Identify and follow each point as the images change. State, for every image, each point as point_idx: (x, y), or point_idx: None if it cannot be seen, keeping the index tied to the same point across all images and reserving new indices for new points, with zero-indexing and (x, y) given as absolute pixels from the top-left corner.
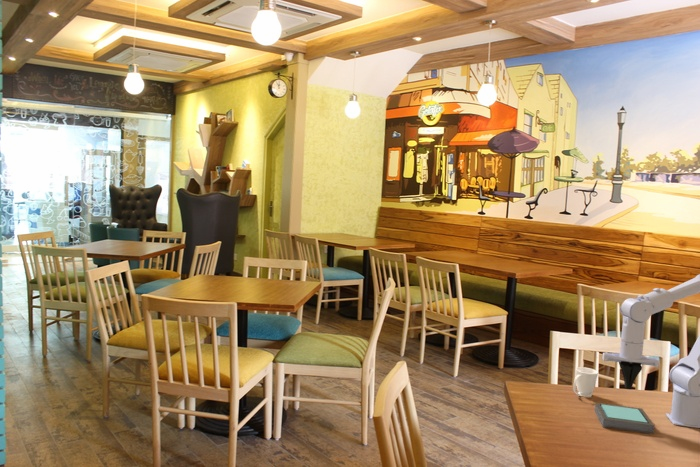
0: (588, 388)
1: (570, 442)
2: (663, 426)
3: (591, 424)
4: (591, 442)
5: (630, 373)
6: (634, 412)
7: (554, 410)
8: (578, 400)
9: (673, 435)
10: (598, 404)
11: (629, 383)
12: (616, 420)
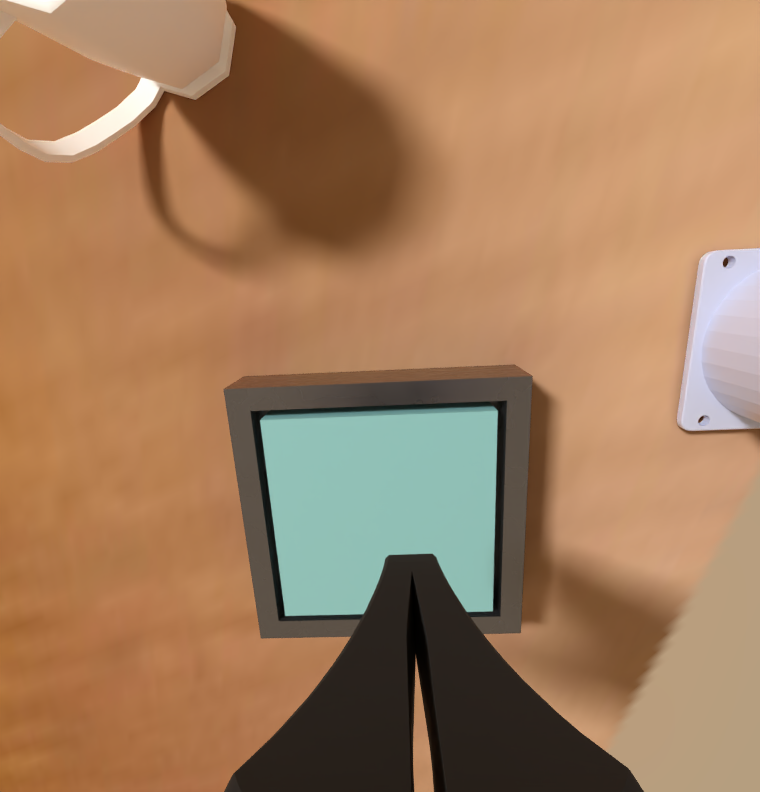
0: (164, 74)
1: (143, 783)
2: (601, 467)
3: (223, 586)
4: (219, 759)
5: (435, 777)
6: (455, 482)
7: (31, 472)
8: (144, 211)
9: (607, 570)
10: (243, 422)
11: (418, 662)
12: (326, 636)
